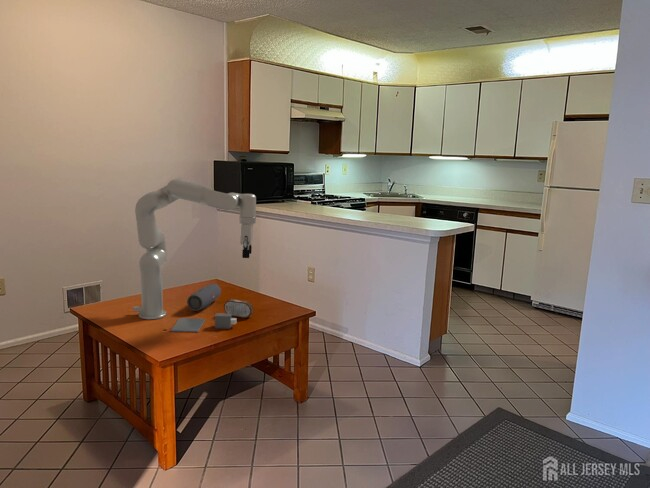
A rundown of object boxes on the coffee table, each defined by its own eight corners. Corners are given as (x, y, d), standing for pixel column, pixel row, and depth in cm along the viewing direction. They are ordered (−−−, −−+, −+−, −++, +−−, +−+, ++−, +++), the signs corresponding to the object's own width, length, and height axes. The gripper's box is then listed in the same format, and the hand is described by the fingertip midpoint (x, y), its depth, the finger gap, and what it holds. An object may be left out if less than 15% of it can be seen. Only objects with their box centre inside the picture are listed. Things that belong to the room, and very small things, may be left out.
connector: (214, 328, 220) (214, 315, 219) (216, 325, 224) (216, 313, 222) (235, 328, 220) (235, 316, 219) (236, 326, 224) (236, 313, 223)
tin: (253, 317, 237) (254, 301, 235) (251, 319, 234) (251, 303, 232) (225, 313, 240) (226, 297, 239) (222, 315, 237) (223, 299, 236)
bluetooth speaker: (203, 314, 238) (203, 294, 236) (186, 312, 240) (186, 293, 238) (222, 301, 260) (222, 283, 258) (206, 299, 261) (206, 281, 260)
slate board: (170, 331, 213) (170, 330, 213) (179, 319, 229) (179, 318, 229) (197, 332, 214) (197, 331, 214) (204, 320, 230) (204, 318, 230)
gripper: (241, 217, 235) (241, 251, 238) (237, 222, 218) (236, 259, 221) (257, 218, 235) (256, 252, 238) (253, 223, 218) (253, 259, 221)
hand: (247, 255), depth 229 cm, fingers open, 9 cm apart
